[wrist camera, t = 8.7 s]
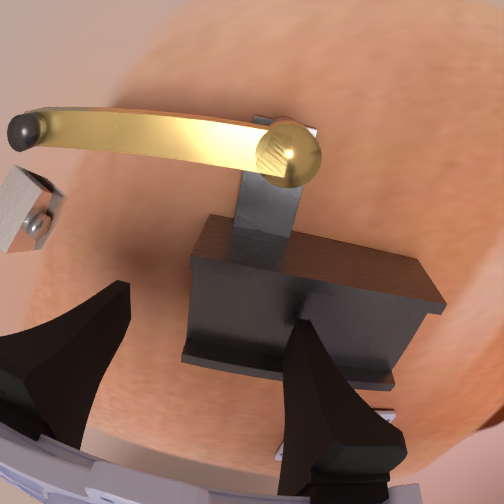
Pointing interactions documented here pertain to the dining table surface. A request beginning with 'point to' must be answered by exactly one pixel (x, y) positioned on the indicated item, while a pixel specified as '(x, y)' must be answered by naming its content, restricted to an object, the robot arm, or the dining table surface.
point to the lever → (175, 139)
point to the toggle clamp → (298, 292)
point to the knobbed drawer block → (27, 210)
